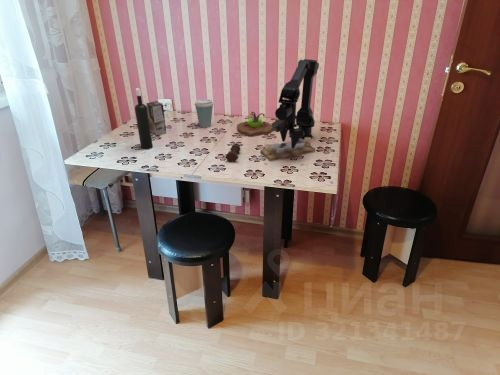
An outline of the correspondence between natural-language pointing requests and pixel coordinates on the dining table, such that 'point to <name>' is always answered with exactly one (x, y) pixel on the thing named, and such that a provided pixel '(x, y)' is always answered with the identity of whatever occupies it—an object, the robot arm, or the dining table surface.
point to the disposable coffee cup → (204, 112)
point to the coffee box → (156, 117)
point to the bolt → (233, 153)
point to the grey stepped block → (286, 147)
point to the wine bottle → (143, 123)
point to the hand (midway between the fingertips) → (288, 144)
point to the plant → (254, 126)
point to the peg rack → (273, 156)
